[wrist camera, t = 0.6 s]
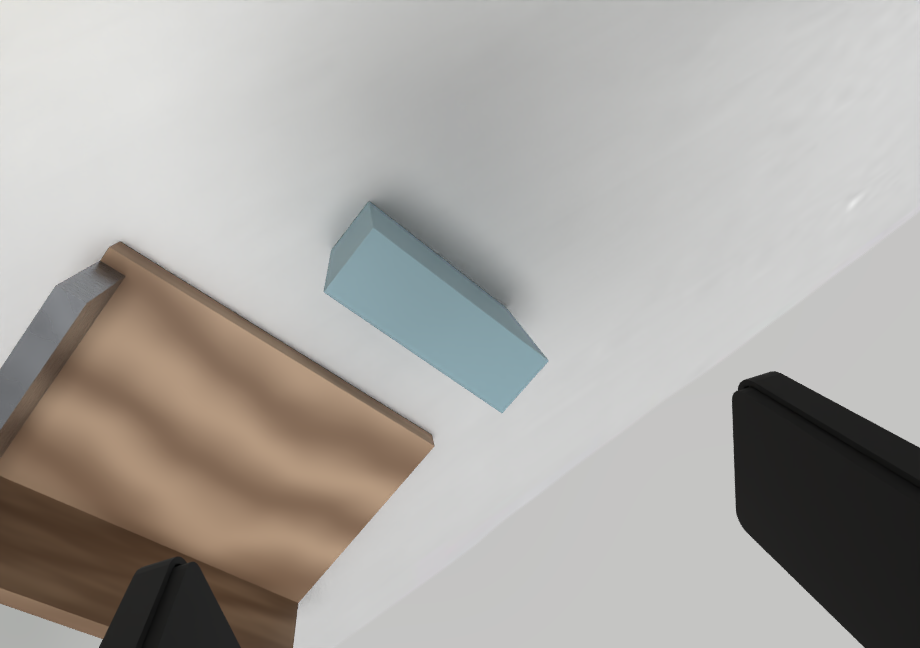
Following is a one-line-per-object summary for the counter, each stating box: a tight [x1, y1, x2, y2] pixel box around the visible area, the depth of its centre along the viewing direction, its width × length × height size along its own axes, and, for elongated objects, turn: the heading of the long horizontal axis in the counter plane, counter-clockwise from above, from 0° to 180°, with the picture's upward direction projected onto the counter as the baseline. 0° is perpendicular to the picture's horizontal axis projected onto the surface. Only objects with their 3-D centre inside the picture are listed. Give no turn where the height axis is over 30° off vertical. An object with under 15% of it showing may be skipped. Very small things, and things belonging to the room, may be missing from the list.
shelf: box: [0, 242, 434, 648], centre depth 34 cm, size 18×24×8 cm
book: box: [324, 201, 548, 413], centre depth 32 cm, size 4×12×9 cm, turn 50°
